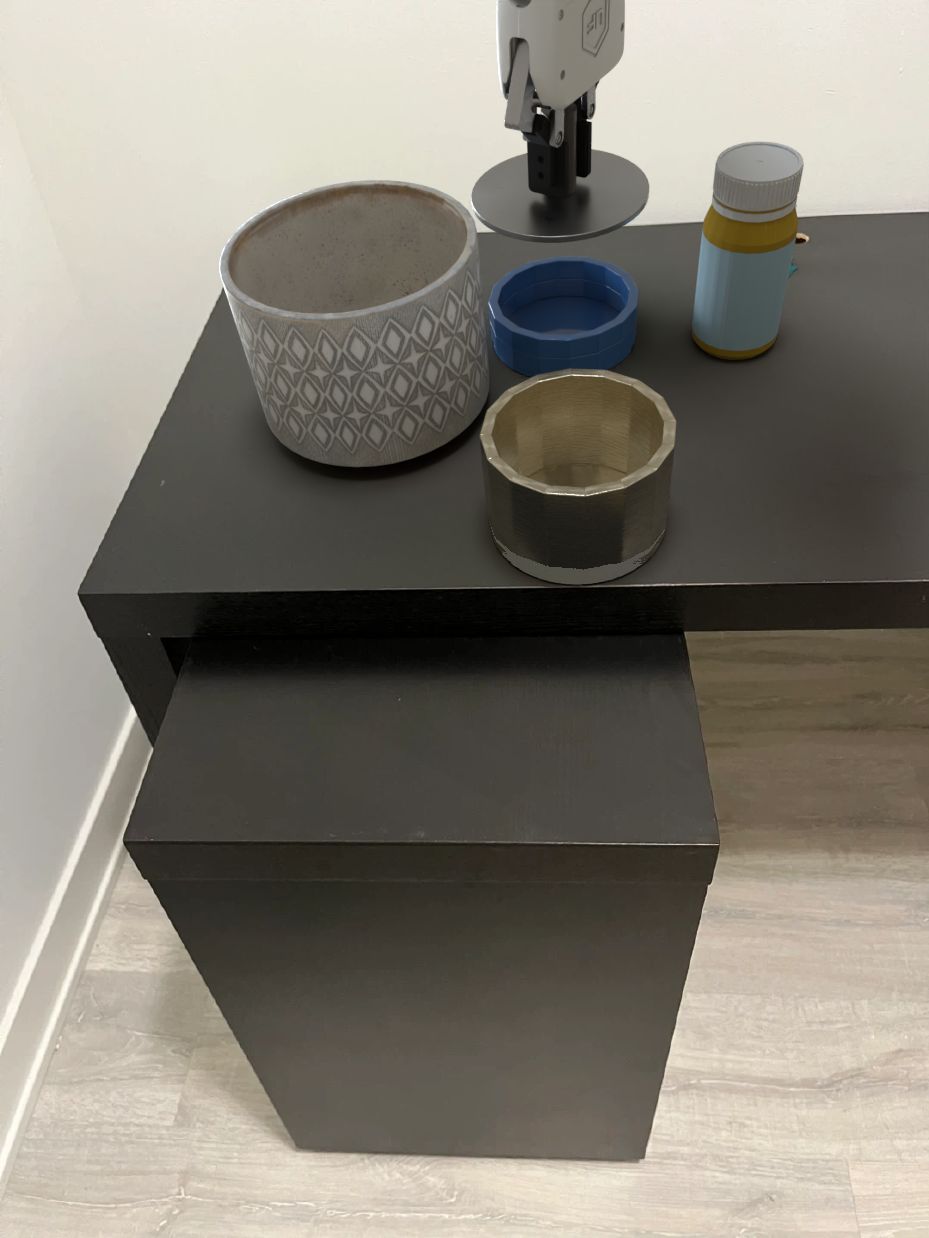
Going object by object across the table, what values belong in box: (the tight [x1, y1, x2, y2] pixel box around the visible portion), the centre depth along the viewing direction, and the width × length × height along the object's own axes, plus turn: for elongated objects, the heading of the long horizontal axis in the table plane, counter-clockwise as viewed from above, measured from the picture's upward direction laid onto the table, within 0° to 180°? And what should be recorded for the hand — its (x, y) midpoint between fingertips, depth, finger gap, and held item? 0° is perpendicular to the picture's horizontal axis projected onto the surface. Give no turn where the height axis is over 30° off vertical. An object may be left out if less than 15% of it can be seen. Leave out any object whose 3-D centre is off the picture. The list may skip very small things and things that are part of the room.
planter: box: [218, 179, 491, 468], centre depth 73 cm, size 19×19×14 cm
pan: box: [487, 255, 640, 378], centre depth 81 cm, size 12×12×4 cm
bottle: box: [691, 141, 805, 361], centre depth 74 cm, size 7×7×15 cm
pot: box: [479, 369, 678, 570], centre depth 65 cm, size 13×13×8 cm
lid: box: [470, 103, 650, 244], centre depth 71 cm, size 14×14×7 cm
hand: (559, 181), depth 72 cm, fingers closed on lid, 2 cm apart
